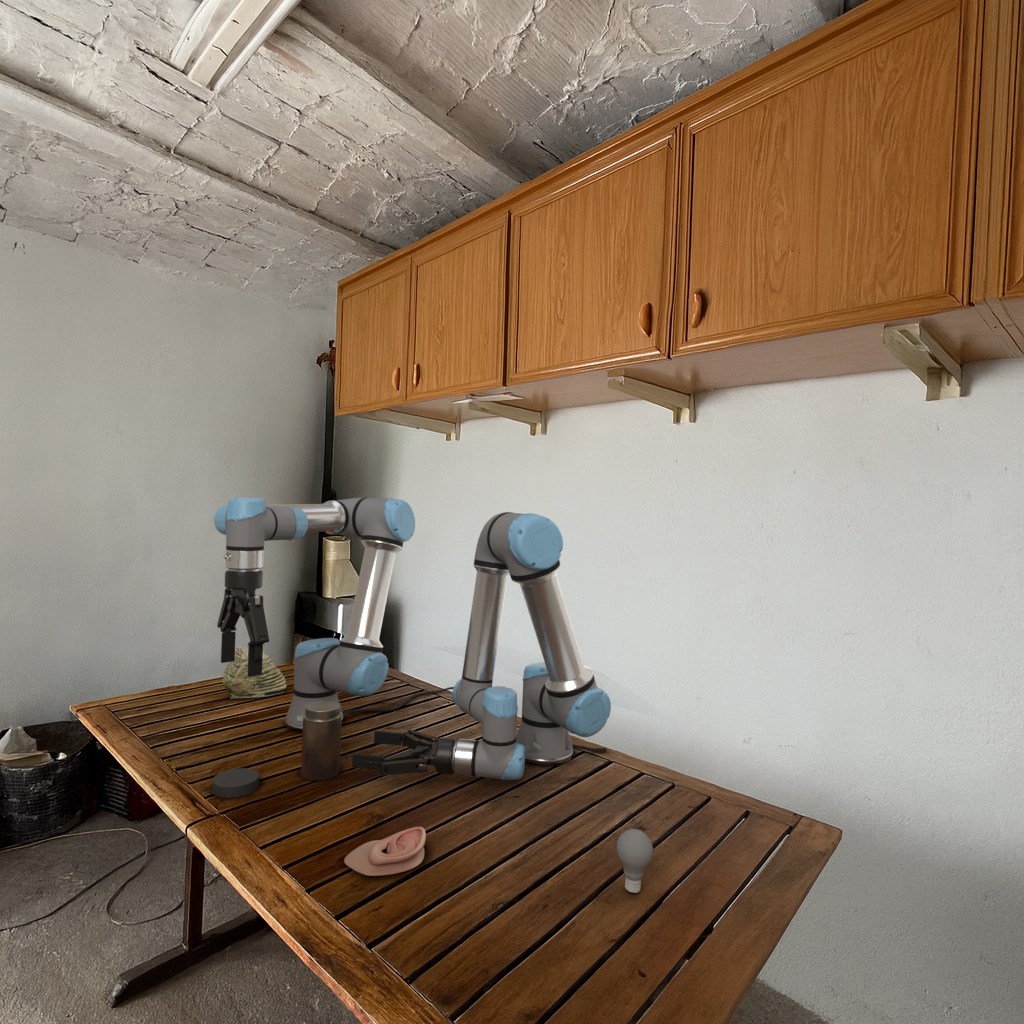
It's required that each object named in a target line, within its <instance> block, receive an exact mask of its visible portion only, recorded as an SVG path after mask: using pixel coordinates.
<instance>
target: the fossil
mask: <svg viewBox="0 0 1024 1024" xmlns="http://www.w3.org/2000/svg"><path fill="white" fill-rule="evenodd" d="M247 675H248V647H247V646H246V647H245V646H238V647H237V648H235V661H232V662H226V666H225V668H224V671H223V675H222V676H223V677H222V685H223V687H224V688H225V690H226V691H228V693H229V698H230V699H250V698H264V697H271V696H275V695H281V694H284V693H285V691H286V689H287V687H288V686H287V680H286V678H285V676H284V674H283V673H282V672H281V669H279V668H278V667H277V665H276V663H275V662H274V660H273V659H272V658H271V657H270V656H269V655H268V654H267V653H266V652H265V650H264V649H263V658H262V675H257V676H251V677H248V676H247Z"/></svg>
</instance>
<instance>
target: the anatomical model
mask: <svg viewBox="0 0 1024 1024" xmlns="http://www.w3.org/2000/svg"><path fill="white" fill-rule="evenodd" d="M426 839H427V834H426V829H425V827H423V826H415V827H411V828H407V829H404V830H401V831H398V832H396V833H394V834H392V835H389V836H387V837H385V838H383V839H376V840H370V841H368V842H365V843H363V844H361V845H359V846H357V847H356V848H355V849H353V850H352V851H350V852H349V853H348V854H347V855H346V856H345V857H344V859H343V863H344V865H346V866H347V867H348V868H350V869H352V870H353V871H355V872H356V873H359V874H361V875H364V876H369V877H377V876H389V875H394V874H395V875H396V874H399V873H403V872H407V871H409V870H412V869H414V868H416V867H418V866H419V865H421V863H422V862H423V860H424V859H425V848H424V846H425V844H426Z"/></svg>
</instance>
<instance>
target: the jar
mask: <svg viewBox="0 0 1024 1024" xmlns="http://www.w3.org/2000/svg"><path fill="white" fill-rule="evenodd" d="M340 708H341V709H342V706H341V703H340V704H339V703H337V702H334V701H316V702H312V703H309V704H307V705H306V707H305V714H304V715H303V732H301V733H302V736H301V737H302V738H301V739H302V740H301V760H300V761H301V763H300V764H301V765H300V768H301V769H300V776H301V777H302V778H303V779H305V780H309V781H325V780H330V779H332V778H334V777H337V776H338V775H339V773H340V769H341V745H342V723H341V721H342V713H341V712H340Z"/></svg>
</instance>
